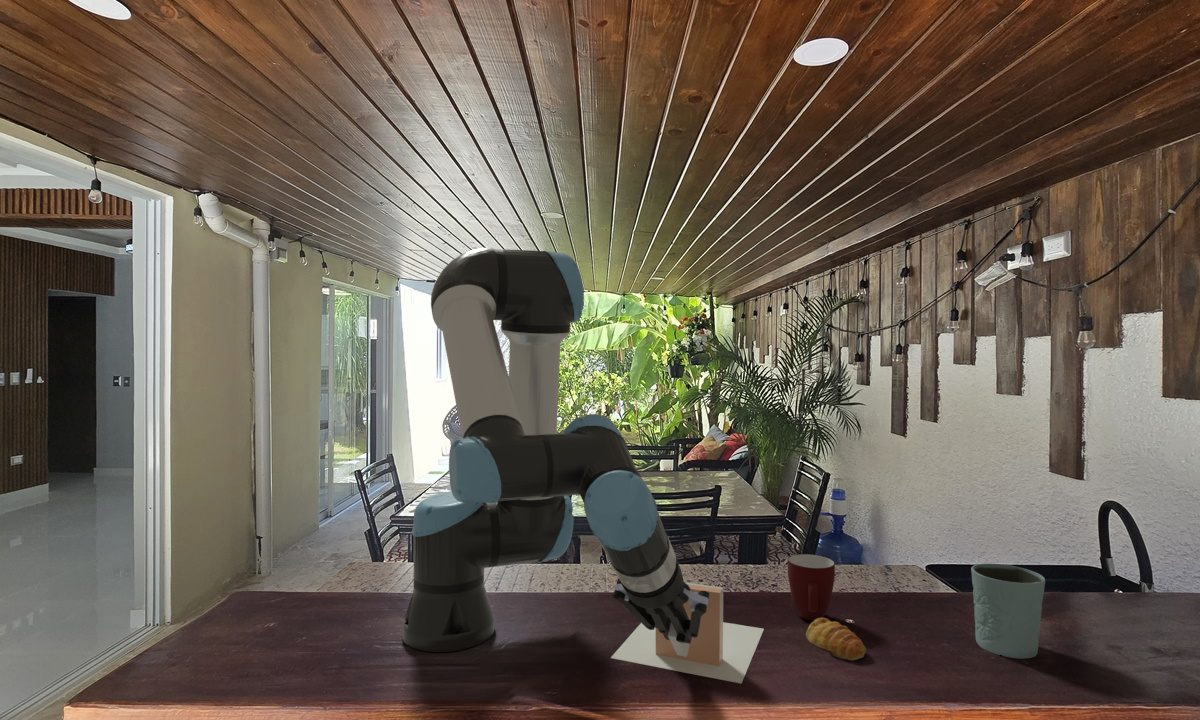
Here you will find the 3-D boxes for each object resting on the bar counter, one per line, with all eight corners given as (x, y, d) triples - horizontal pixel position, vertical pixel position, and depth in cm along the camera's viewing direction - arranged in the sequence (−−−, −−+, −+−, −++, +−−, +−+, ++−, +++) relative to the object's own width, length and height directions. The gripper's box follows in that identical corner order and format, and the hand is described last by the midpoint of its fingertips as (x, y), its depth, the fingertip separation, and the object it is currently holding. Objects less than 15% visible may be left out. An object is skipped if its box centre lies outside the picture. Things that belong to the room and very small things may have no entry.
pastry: (876, 657, 104) (876, 633, 104) (846, 667, 100) (846, 642, 100) (829, 634, 112) (830, 612, 112) (800, 643, 109) (800, 620, 109)
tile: (655, 654, 103) (655, 583, 103) (660, 647, 105) (660, 578, 105) (719, 666, 99) (719, 593, 99) (722, 659, 101) (723, 587, 101)
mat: (610, 661, 102) (610, 657, 102) (651, 614, 120) (651, 610, 120) (741, 687, 94) (741, 683, 94) (764, 632, 112) (764, 628, 112)
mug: (843, 632, 112) (843, 574, 112) (794, 630, 113) (794, 572, 113) (828, 608, 123) (829, 554, 122) (784, 606, 124) (784, 553, 123)
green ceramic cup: (963, 646, 107) (963, 572, 107) (979, 627, 114) (980, 558, 114) (1037, 667, 100) (1038, 588, 100) (1049, 645, 107) (1050, 571, 107)
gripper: (589, 587, 82) (635, 664, 97) (692, 603, 76) (724, 681, 92) (606, 533, 86) (647, 615, 102) (704, 545, 81) (732, 629, 97)
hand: (684, 646), depth 97 cm, fingers closed
